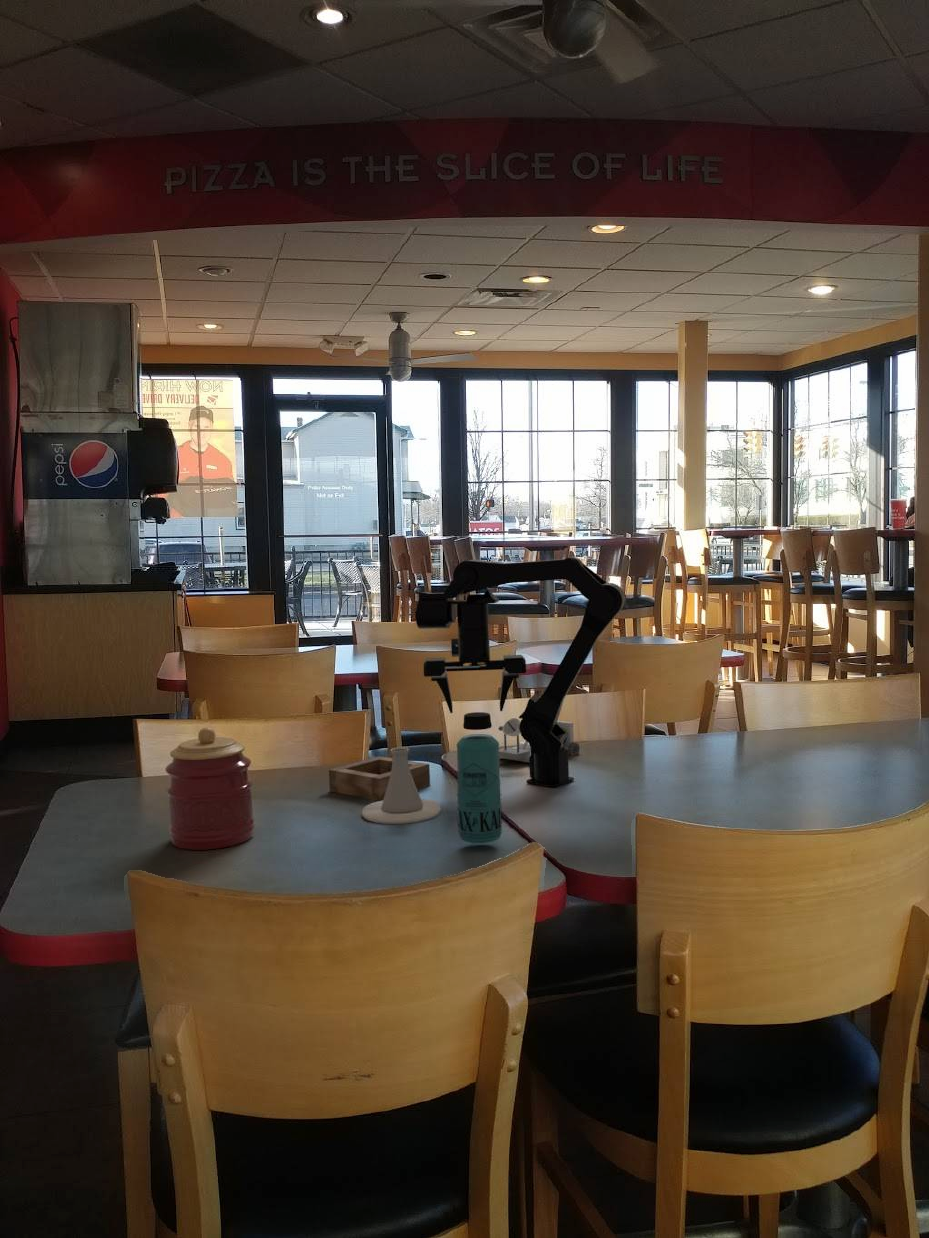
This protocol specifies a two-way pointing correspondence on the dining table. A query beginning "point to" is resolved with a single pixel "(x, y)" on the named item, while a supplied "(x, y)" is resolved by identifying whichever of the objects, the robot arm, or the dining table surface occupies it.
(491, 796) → the beverage bottle
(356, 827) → the dining table surface
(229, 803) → the canister
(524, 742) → the toy car
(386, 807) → the flask
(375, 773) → the walnut collar
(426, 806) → the ceramic plate
